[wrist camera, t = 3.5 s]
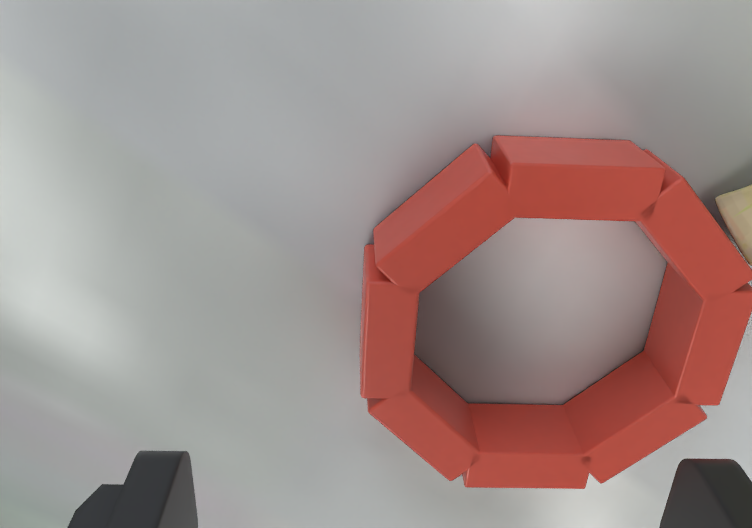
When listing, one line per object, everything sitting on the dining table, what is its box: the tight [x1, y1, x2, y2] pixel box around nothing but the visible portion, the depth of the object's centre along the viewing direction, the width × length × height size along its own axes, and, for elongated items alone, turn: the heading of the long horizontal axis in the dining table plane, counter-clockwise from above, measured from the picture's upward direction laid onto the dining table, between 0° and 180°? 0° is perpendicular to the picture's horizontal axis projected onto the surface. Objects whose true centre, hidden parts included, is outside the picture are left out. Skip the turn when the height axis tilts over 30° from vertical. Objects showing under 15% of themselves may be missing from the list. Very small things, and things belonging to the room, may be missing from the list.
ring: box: [360, 135, 752, 489], centre depth 17 cm, size 9×9×2 cm
